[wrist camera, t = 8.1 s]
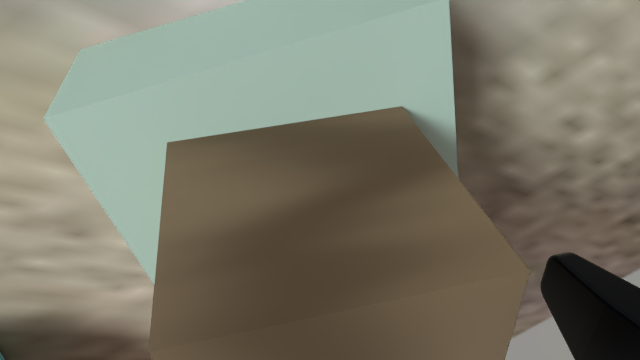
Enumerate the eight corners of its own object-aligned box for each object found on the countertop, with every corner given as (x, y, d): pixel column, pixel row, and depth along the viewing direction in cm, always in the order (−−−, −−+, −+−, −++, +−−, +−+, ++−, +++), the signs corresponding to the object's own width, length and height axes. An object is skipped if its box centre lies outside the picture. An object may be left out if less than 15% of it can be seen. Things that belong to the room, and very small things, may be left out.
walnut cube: (401, 105, 10) (530, 270, 6) (394, 266, 13) (478, 448, 9) (167, 142, 10) (148, 352, 6) (213, 303, 13) (222, 516, 9)
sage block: (383, -44, 12) (448, -3, 9) (413, 189, 17) (463, 268, 14) (83, 44, 12) (43, 118, 9) (199, 256, 17) (200, 353, 14)
